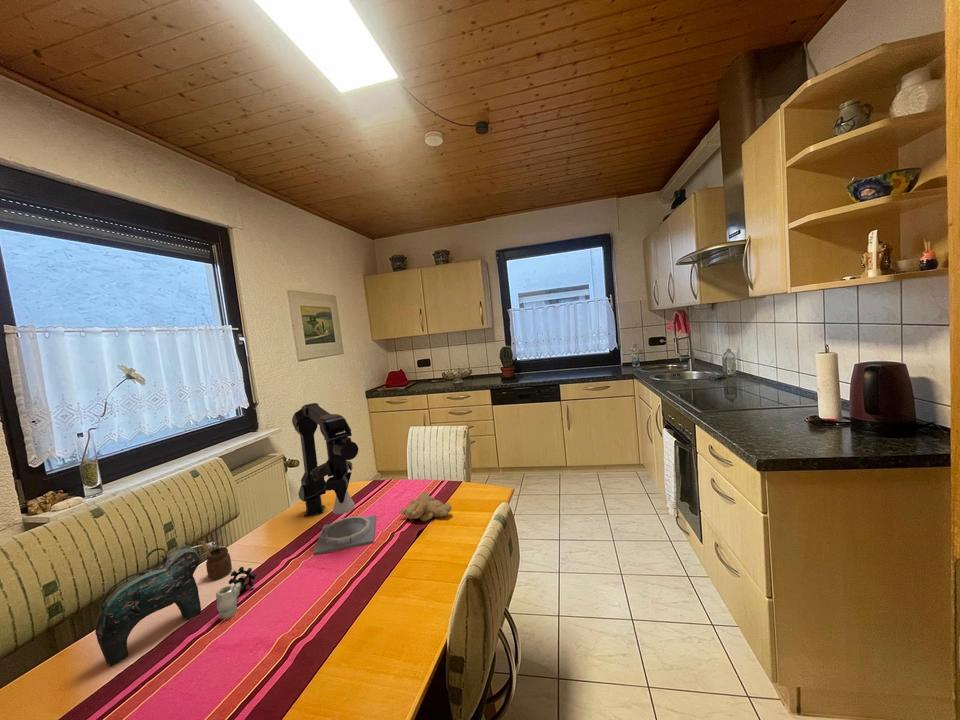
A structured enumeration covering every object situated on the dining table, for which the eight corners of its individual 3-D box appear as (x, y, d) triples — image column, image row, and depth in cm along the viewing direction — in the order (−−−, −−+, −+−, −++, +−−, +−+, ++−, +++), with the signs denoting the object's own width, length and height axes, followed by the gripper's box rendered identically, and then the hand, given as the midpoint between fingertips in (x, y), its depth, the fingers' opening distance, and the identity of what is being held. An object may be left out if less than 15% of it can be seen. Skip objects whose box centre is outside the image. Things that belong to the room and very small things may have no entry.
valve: (239, 617, 94) (258, 586, 106) (235, 592, 94) (254, 564, 105) (210, 624, 93) (231, 592, 105) (205, 598, 92) (228, 569, 104)
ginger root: (396, 510, 141) (399, 488, 141) (436, 508, 148) (439, 488, 148) (406, 530, 127) (410, 506, 127) (451, 527, 134) (454, 504, 134)
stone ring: (327, 526, 135) (326, 521, 135) (371, 517, 138) (371, 512, 138) (318, 549, 120) (318, 543, 120) (369, 539, 123) (368, 534, 123)
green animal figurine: (200, 602, 101) (188, 530, 100) (212, 609, 98) (200, 534, 96) (98, 662, 84) (82, 576, 83) (109, 673, 81) (92, 584, 79)
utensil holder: (236, 569, 115) (231, 531, 114) (215, 583, 109) (208, 542, 108) (224, 566, 117) (218, 528, 116) (202, 579, 112) (196, 539, 111)
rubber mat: (324, 527, 136) (323, 525, 136) (376, 517, 140) (376, 515, 140) (313, 555, 119) (313, 552, 119) (373, 543, 122) (373, 540, 122)
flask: (358, 504, 132) (355, 476, 131) (349, 514, 125) (345, 484, 124) (338, 505, 133) (335, 477, 132) (328, 515, 126) (324, 486, 125)
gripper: (316, 449, 135) (322, 492, 136) (304, 467, 116) (311, 517, 118) (349, 445, 137) (355, 487, 138) (343, 461, 119) (349, 510, 120)
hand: (342, 499), depth 128 cm, fingers closed on flask, 5 cm apart
